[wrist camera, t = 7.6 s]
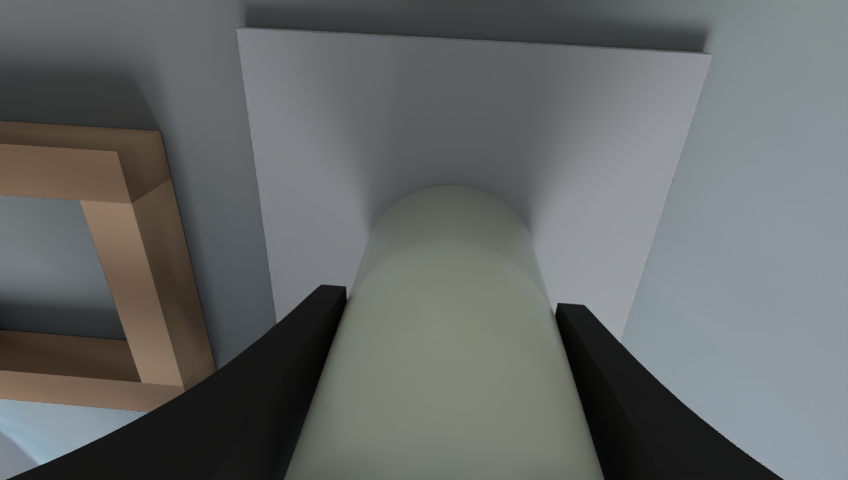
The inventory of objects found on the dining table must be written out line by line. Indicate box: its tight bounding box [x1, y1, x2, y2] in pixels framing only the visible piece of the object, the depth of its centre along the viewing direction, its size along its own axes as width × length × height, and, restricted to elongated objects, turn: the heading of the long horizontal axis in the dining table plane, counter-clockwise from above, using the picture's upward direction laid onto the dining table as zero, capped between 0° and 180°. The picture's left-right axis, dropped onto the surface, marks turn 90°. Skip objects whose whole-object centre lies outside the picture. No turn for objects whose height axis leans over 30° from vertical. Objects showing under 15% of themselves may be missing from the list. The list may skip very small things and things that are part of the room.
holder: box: [0, 121, 216, 412], centre depth 16 cm, size 10×10×2 cm
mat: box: [236, 27, 713, 342], centre depth 15 cm, size 12×12×1 cm
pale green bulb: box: [284, 185, 604, 480], centre depth 10 cm, size 5×5×8 cm
